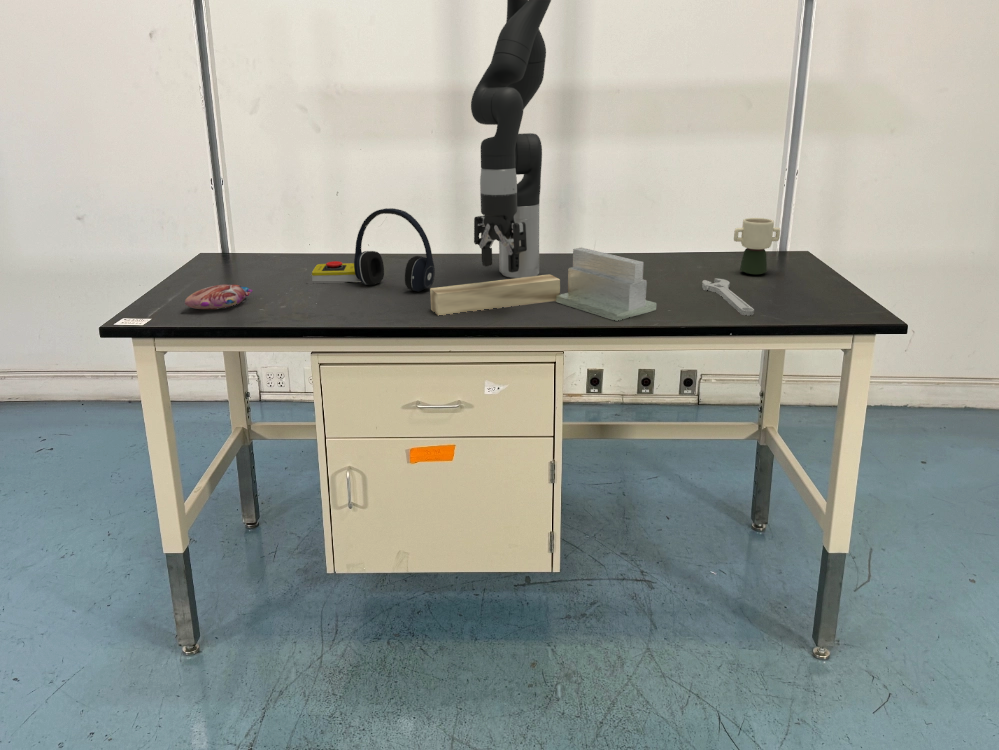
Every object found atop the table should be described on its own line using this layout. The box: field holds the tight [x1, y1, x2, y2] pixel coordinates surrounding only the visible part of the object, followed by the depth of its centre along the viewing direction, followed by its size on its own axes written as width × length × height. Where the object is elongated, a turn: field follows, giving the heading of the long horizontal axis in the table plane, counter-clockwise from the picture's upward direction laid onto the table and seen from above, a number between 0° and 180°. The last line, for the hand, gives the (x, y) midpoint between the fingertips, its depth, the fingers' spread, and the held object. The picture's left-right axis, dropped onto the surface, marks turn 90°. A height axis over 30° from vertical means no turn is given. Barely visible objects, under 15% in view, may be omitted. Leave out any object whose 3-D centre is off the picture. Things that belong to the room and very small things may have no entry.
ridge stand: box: [555, 247, 657, 322], centre depth 169 cm, size 18×12×11 cm, turn 39°
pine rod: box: [429, 273, 561, 317], centre depth 172 cm, size 5×28×5 cm, turn 112°
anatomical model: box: [184, 283, 253, 310], centre depth 175 cm, size 11×6×15 cm
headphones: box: [353, 207, 436, 292], centre depth 184 cm, size 20×7×18 cm, turn 63°
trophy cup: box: [733, 217, 781, 275], centre depth 193 cm, size 11×7×13 cm, turn 89°
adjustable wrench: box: [701, 278, 755, 317], centre depth 175 cm, size 25×6×2 cm, turn 179°
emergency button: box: [311, 260, 360, 281], centre depth 195 cm, size 9×4×15 cm
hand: (500, 268), depth 170 cm, fingers open, 8 cm apart
